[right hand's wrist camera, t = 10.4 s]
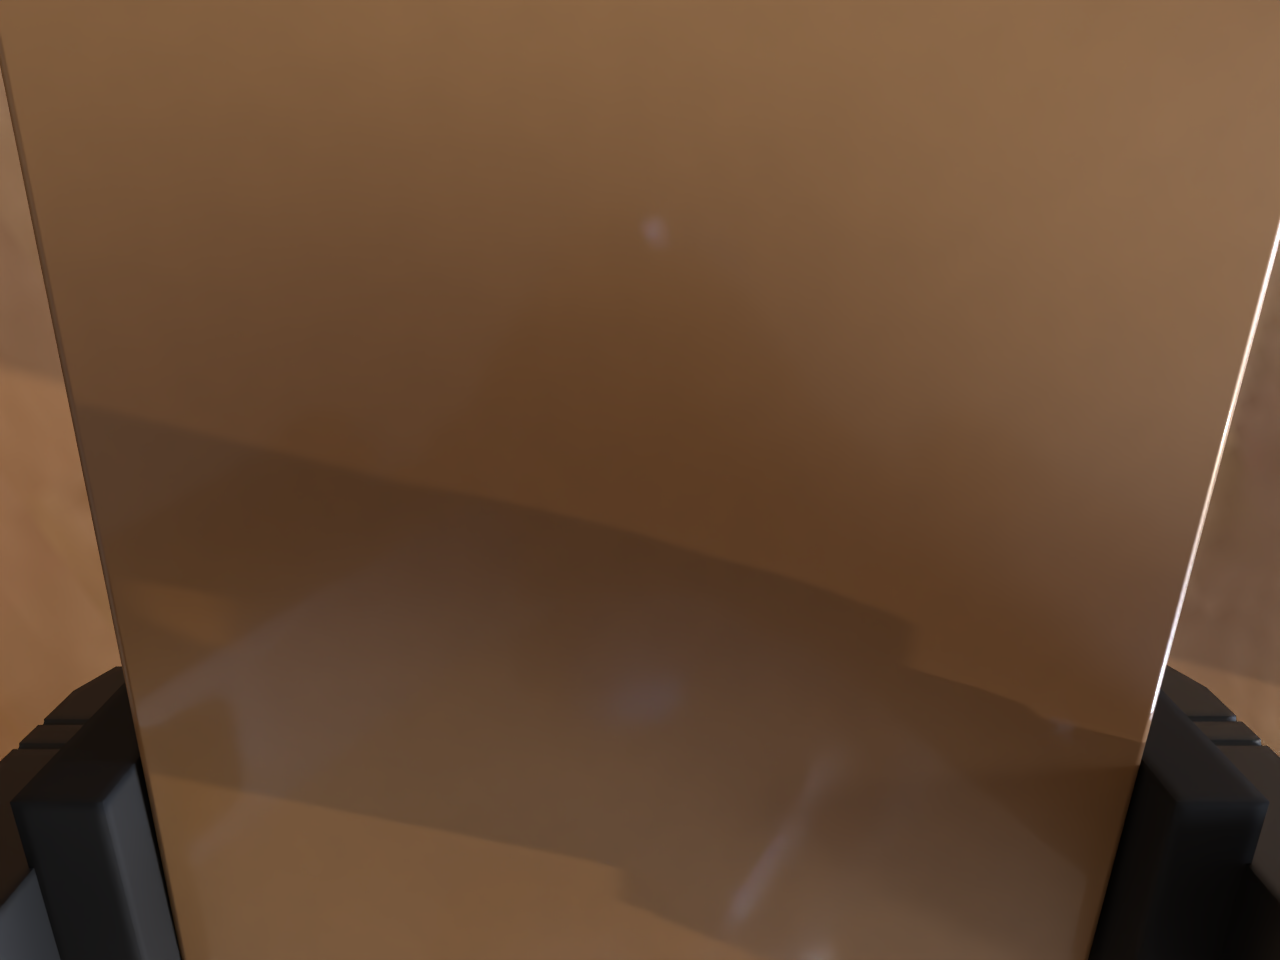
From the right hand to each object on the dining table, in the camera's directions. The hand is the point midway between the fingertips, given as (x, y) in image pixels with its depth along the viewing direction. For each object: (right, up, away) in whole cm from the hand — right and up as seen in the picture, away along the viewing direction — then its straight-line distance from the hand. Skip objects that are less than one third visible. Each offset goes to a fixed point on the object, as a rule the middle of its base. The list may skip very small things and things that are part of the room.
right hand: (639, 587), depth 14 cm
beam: (+1, +32, -11) cm, 34 cm away
